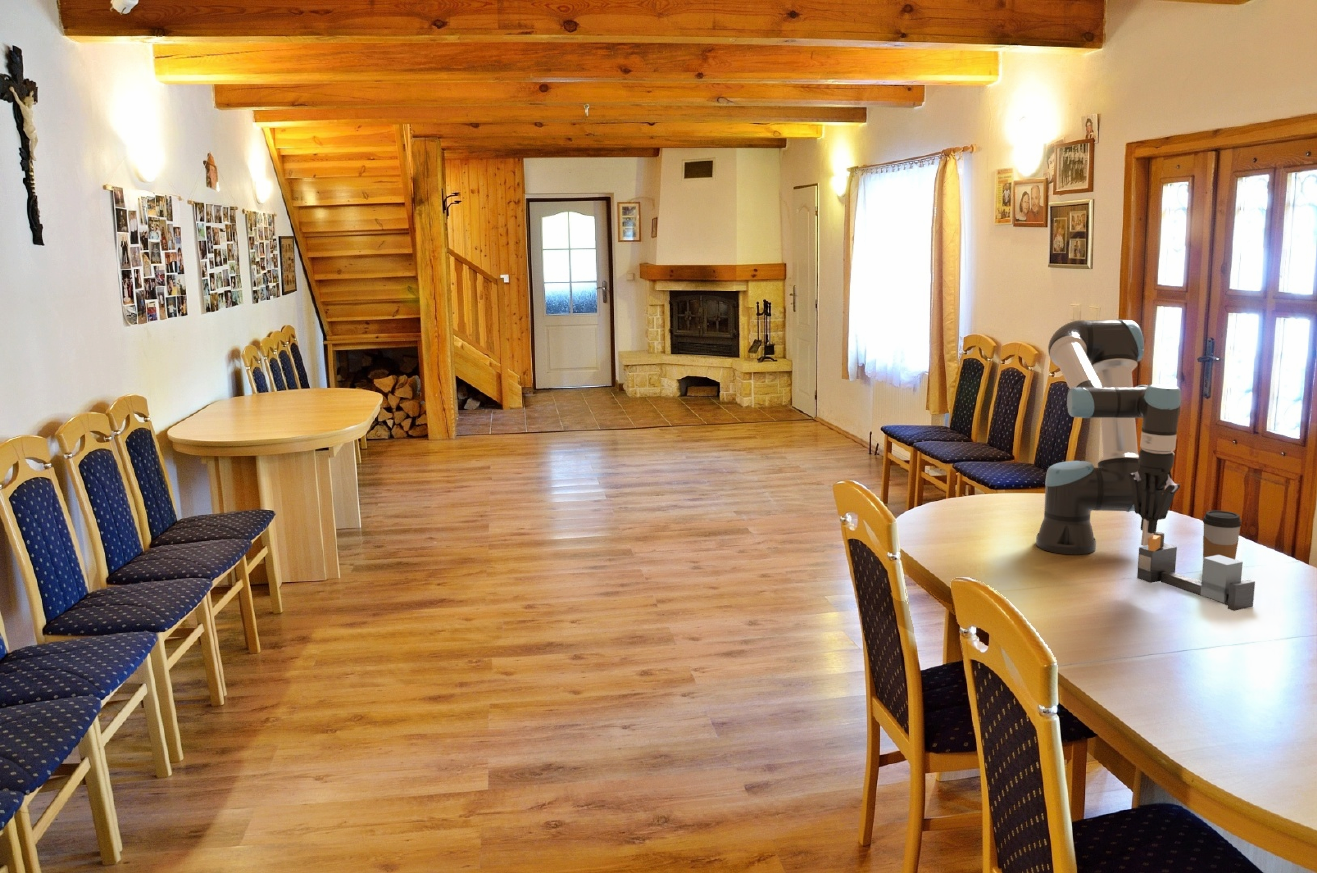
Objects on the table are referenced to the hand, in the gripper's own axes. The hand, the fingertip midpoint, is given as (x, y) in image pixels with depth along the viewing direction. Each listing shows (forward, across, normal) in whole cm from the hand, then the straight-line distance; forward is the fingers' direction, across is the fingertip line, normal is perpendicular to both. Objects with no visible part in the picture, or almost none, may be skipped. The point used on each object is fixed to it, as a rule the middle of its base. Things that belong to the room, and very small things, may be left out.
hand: (1146, 544), depth 238 cm
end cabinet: (+9, 0, +5) cm, 11 cm away
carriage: (+9, +17, +5) cm, 20 cm away
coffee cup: (+9, +3, +22) cm, 24 cm away
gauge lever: (+1, 0, +3) cm, 3 cm away
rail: (+9, +12, +5) cm, 15 cm away
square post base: (+9, +22, +5) cm, 24 cm away
